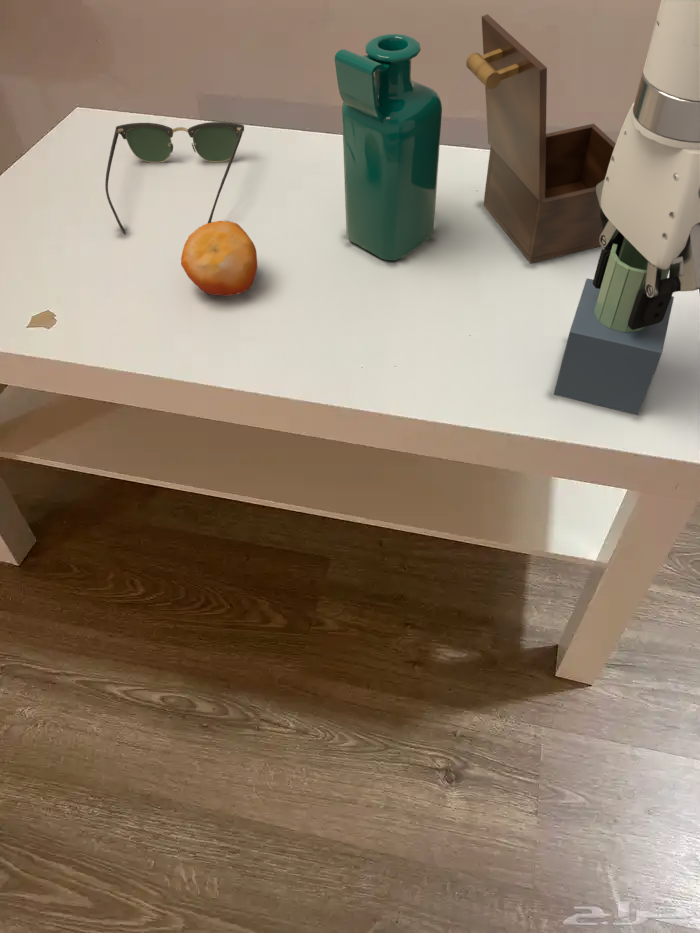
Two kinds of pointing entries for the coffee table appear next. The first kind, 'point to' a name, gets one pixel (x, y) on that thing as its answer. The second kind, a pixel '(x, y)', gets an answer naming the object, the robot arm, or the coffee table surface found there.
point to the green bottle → (388, 147)
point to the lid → (514, 103)
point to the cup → (622, 286)
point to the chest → (553, 195)
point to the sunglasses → (156, 145)
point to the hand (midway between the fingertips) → (626, 301)
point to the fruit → (220, 258)
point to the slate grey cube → (609, 359)
